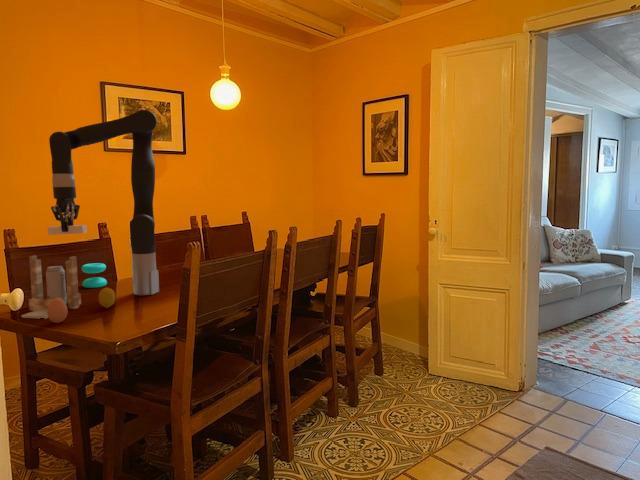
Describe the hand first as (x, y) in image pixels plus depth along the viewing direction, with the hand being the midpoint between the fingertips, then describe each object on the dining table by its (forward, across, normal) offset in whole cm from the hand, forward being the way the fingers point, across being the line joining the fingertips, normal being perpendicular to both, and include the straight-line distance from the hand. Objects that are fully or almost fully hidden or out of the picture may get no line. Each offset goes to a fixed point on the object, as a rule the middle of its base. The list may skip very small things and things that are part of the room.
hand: (67, 231), depth 173 cm
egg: (+28, -28, -14) cm, 42 cm away
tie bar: (+1, 0, 0) cm, 1 cm away
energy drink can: (+28, -9, 0) cm, 29 cm away
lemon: (+28, -9, -20) cm, 35 cm away
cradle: (+27, -10, 0) cm, 29 cm away
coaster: (+27, -20, -2) cm, 34 cm away
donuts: (+28, +27, +9) cm, 39 cm away
